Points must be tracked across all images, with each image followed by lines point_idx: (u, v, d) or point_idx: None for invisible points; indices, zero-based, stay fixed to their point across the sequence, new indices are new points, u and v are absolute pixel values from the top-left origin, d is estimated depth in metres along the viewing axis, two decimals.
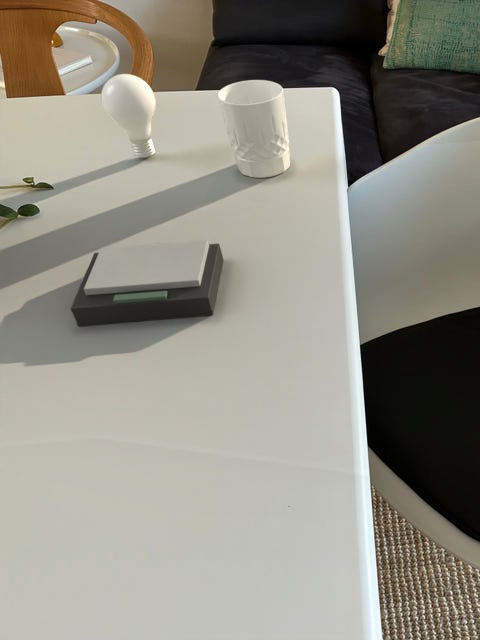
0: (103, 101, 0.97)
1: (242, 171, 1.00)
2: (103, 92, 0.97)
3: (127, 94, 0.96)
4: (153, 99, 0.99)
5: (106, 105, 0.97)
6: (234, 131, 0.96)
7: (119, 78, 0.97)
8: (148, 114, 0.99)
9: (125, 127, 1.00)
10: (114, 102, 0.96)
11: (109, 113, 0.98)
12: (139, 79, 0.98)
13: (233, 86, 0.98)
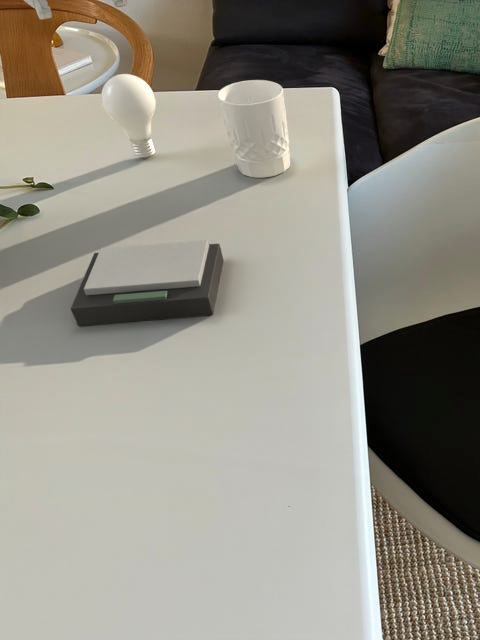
0: (103, 101, 0.97)
1: (242, 171, 1.00)
2: (103, 92, 0.97)
3: (127, 94, 0.96)
4: (153, 99, 0.99)
5: (106, 105, 0.97)
6: (234, 131, 0.96)
7: (119, 78, 0.97)
8: (148, 114, 0.99)
9: (125, 127, 1.00)
10: (114, 102, 0.96)
11: (109, 113, 0.98)
12: (139, 79, 0.98)
13: (233, 86, 0.98)
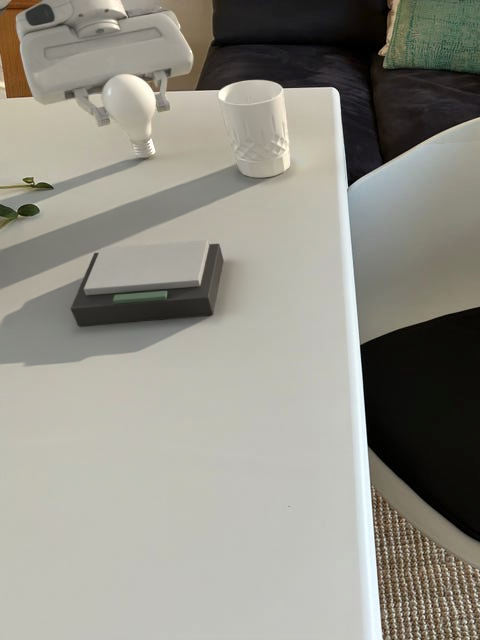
0: (103, 101, 0.97)
1: (242, 171, 1.00)
2: (103, 92, 0.97)
3: (127, 94, 0.96)
4: (153, 99, 0.99)
5: (106, 105, 0.97)
6: (234, 131, 0.96)
7: (119, 78, 0.97)
8: (148, 114, 0.99)
9: (125, 127, 1.00)
10: (114, 102, 0.96)
11: (109, 113, 0.98)
12: (139, 79, 0.98)
13: (233, 86, 0.98)
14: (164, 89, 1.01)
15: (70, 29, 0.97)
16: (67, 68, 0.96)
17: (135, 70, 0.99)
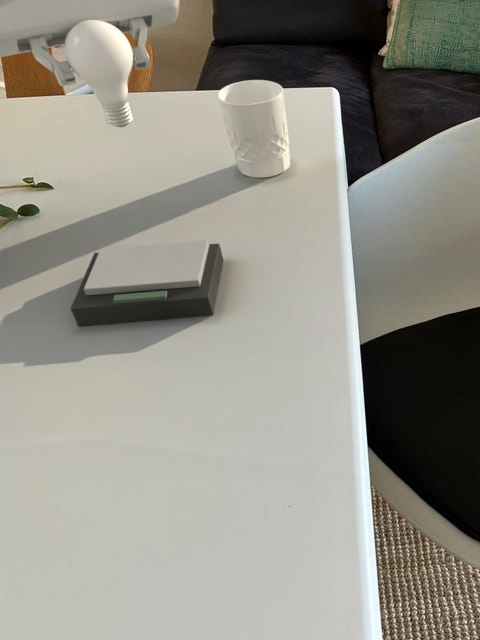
0: (66, 53, 0.78)
1: (242, 171, 1.00)
2: (66, 42, 0.78)
3: (96, 44, 0.77)
4: (130, 52, 0.80)
5: (70, 58, 0.78)
6: (234, 131, 0.96)
7: (86, 24, 0.77)
8: (123, 70, 0.80)
9: (94, 86, 0.80)
10: (80, 54, 0.77)
11: (74, 68, 0.78)
12: (112, 26, 0.79)
13: (233, 86, 0.98)
14: (143, 41, 0.82)
15: None
16: (20, 11, 0.77)
17: (107, 16, 0.80)
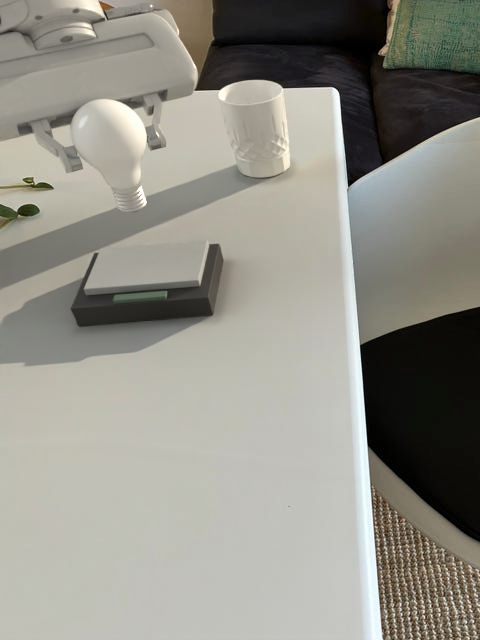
0: (73, 138, 0.69)
1: (242, 171, 1.00)
2: (72, 125, 0.69)
3: (106, 129, 0.68)
4: (143, 133, 0.71)
5: (77, 143, 0.69)
6: (234, 131, 0.96)
7: (95, 105, 0.69)
8: (136, 154, 0.71)
9: (104, 172, 0.72)
10: (88, 140, 0.68)
11: (81, 154, 0.70)
12: (123, 106, 0.70)
13: (233, 86, 0.98)
14: (158, 119, 0.73)
15: (24, 37, 0.69)
16: (21, 92, 0.68)
17: (117, 93, 0.71)
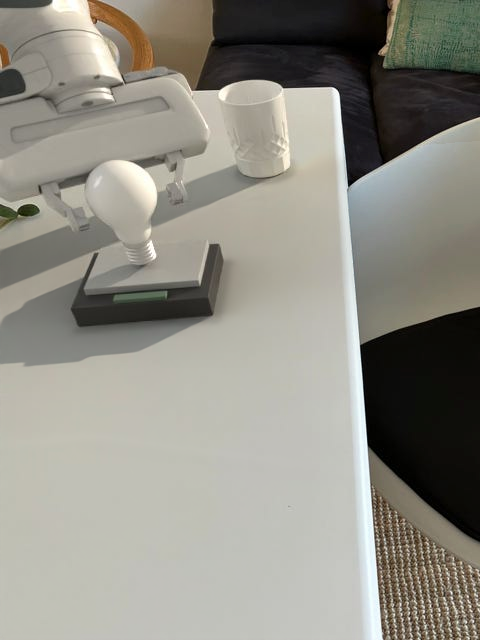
0: (87, 197, 0.73)
1: (242, 171, 1.00)
2: (87, 186, 0.72)
3: (120, 189, 0.72)
4: (154, 192, 0.75)
5: (92, 202, 0.72)
6: (234, 131, 0.96)
7: (109, 166, 0.72)
8: (147, 211, 0.74)
9: (117, 228, 0.75)
10: (103, 199, 0.72)
11: (96, 213, 0.73)
12: (135, 166, 0.74)
13: (233, 86, 0.98)
14: (181, 176, 0.77)
15: (47, 102, 0.72)
16: (43, 154, 0.71)
17: (134, 154, 0.75)
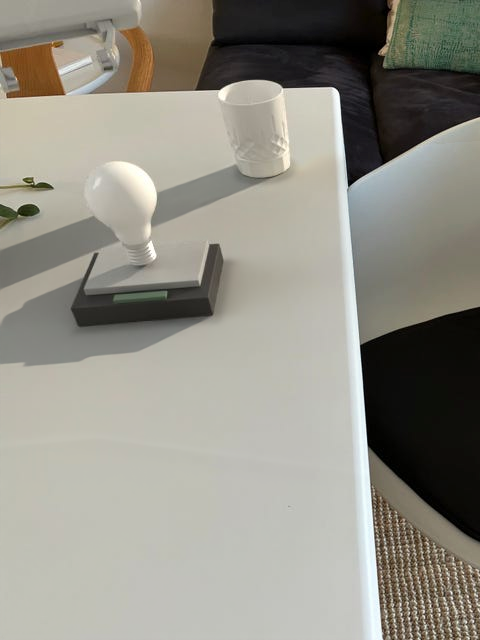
0: (87, 199, 0.72)
1: (242, 171, 1.00)
2: (87, 188, 0.72)
3: (120, 191, 0.72)
4: (154, 193, 0.75)
5: (92, 204, 0.72)
6: (234, 131, 0.96)
7: (108, 168, 0.72)
8: (147, 212, 0.74)
9: (116, 230, 0.75)
10: (103, 201, 0.72)
11: (95, 214, 0.73)
12: (135, 168, 0.73)
13: (233, 86, 0.98)
14: (110, 44, 0.80)
15: None
16: None
17: (63, 19, 0.78)
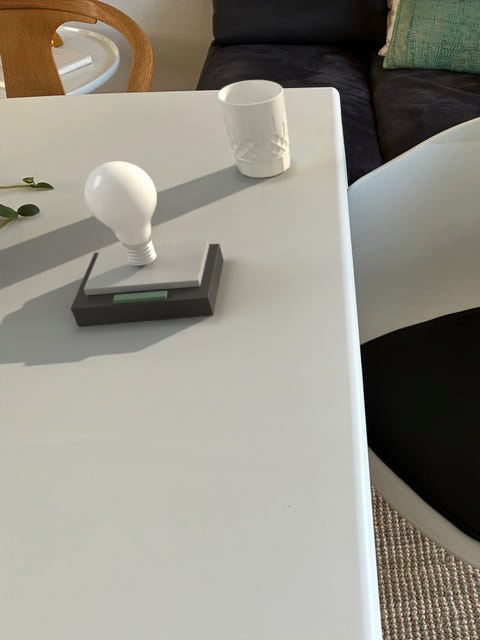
0: (87, 199, 0.72)
1: (242, 171, 1.00)
2: (87, 188, 0.72)
3: (120, 191, 0.72)
4: (154, 193, 0.75)
5: (92, 204, 0.72)
6: (234, 131, 0.96)
7: (108, 168, 0.72)
8: (147, 212, 0.74)
9: (116, 230, 0.75)
10: (102, 201, 0.72)
11: (96, 214, 0.73)
12: (135, 168, 0.73)
13: (233, 86, 0.98)
14: None
15: None
16: None
17: None
